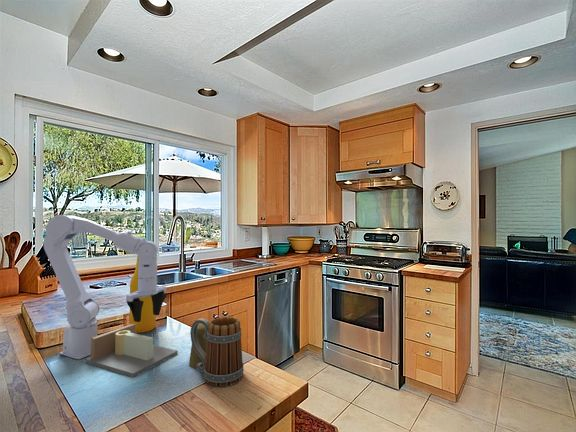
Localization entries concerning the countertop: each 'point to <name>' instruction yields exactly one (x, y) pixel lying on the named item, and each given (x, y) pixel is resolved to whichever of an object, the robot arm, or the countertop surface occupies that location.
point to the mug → (220, 351)
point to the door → (133, 345)
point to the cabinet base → (123, 364)
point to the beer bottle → (147, 309)
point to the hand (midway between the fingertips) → (147, 318)
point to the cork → (202, 342)
